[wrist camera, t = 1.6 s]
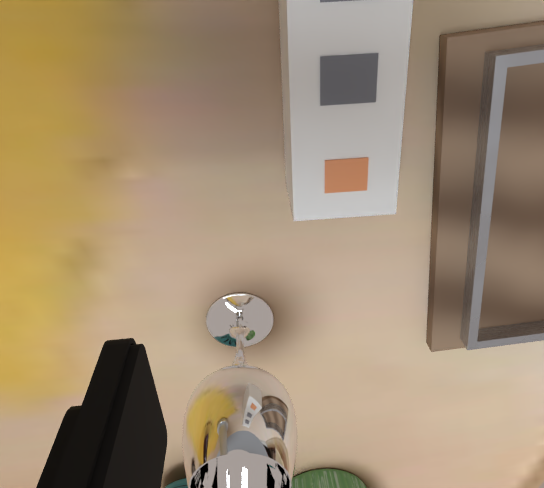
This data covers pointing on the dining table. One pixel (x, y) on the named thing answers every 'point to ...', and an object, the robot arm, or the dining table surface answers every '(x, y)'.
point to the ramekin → (327, 479)
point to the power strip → (343, 104)
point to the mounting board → (488, 190)
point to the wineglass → (239, 409)
